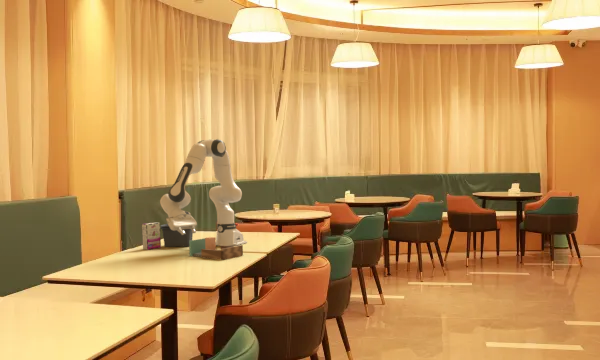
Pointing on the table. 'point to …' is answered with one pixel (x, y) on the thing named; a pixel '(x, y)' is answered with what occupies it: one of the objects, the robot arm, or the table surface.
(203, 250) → the dock
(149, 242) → the candy bar box
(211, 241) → the terracotta block
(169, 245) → the storage bin
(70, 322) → the table surface
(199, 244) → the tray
